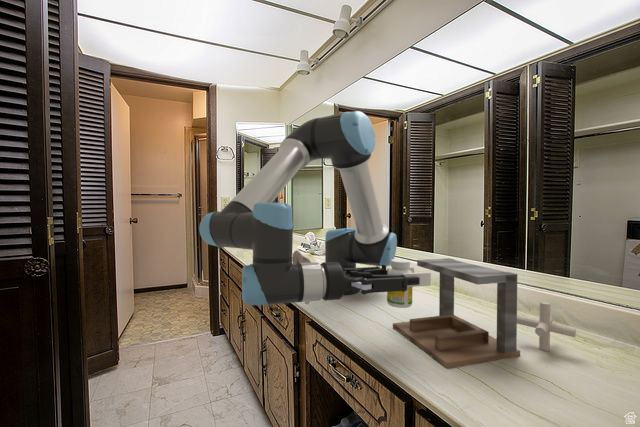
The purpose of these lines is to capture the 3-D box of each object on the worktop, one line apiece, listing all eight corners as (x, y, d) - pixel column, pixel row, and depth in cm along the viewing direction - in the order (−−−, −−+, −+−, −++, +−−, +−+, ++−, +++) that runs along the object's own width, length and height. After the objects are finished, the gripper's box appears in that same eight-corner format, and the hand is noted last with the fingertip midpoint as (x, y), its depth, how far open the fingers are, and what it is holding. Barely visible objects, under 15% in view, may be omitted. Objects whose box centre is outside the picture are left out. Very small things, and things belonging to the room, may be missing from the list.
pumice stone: (315, 273, 138) (315, 252, 138) (300, 274, 135) (300, 253, 135) (303, 267, 152) (303, 248, 152) (290, 268, 149) (290, 249, 149)
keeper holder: (392, 327, 74) (393, 261, 74) (451, 320, 79) (452, 258, 79) (446, 368, 55) (447, 279, 55) (520, 355, 60) (521, 273, 60)
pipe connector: (511, 348, 63) (512, 302, 63) (521, 334, 70) (522, 293, 70) (572, 366, 56) (573, 314, 56) (577, 349, 63) (577, 303, 63)
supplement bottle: (394, 309, 60) (394, 263, 60) (382, 301, 65) (383, 258, 65) (417, 307, 61) (418, 262, 61) (404, 300, 66) (404, 258, 66)
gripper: (310, 288, 67) (398, 282, 73) (335, 315, 49) (449, 305, 56) (310, 256, 67) (399, 253, 73) (335, 271, 49) (450, 266, 56)
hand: (420, 275), depth 64 cm, fingers closed on supplement bottle, 5 cm apart
